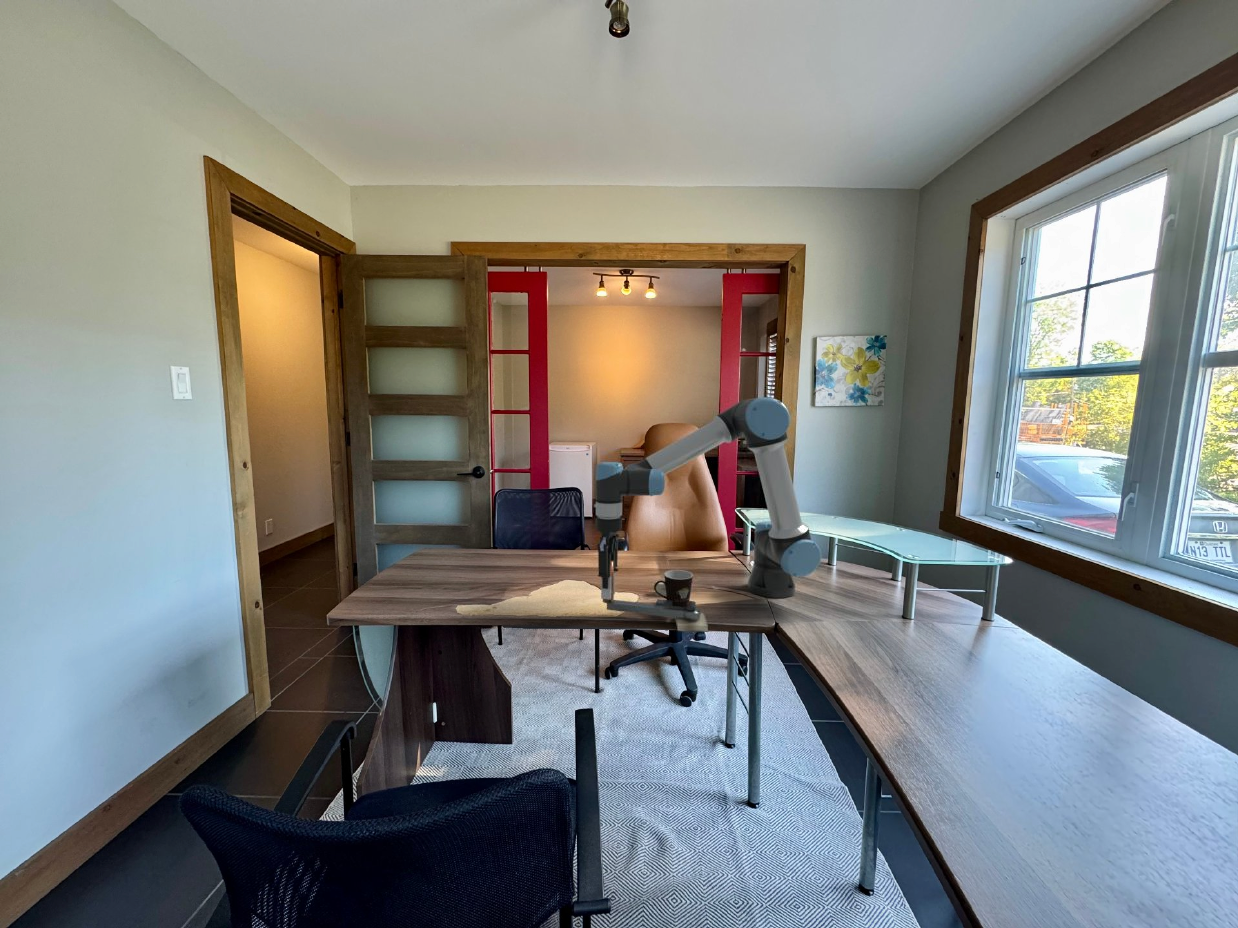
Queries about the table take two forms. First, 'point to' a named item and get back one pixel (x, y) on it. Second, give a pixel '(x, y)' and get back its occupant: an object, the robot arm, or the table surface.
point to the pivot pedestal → (692, 625)
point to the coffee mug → (677, 587)
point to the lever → (649, 605)
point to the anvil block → (660, 589)
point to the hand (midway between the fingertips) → (608, 595)
